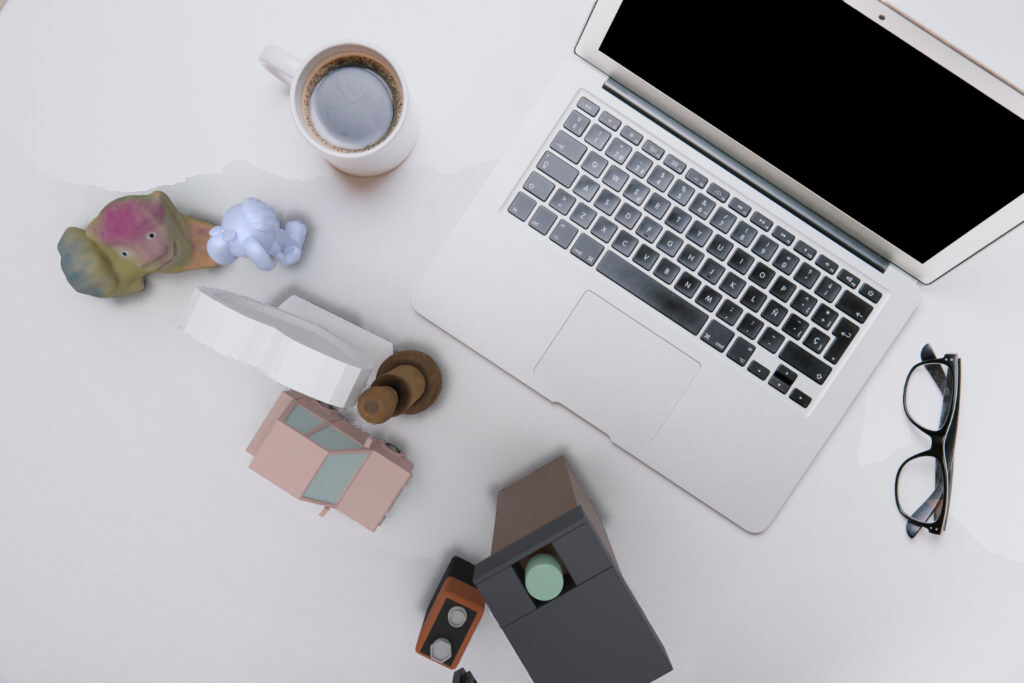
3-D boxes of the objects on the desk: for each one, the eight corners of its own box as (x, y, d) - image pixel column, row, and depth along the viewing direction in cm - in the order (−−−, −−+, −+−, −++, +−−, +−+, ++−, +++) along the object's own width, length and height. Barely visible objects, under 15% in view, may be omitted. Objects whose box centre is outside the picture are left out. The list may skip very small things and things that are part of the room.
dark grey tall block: (622, 545, 71) (674, 670, 47) (549, 587, 71) (562, 731, 47) (562, 444, 70) (584, 517, 46) (489, 486, 71) (472, 580, 47)
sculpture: (109, 316, 70) (40, 318, 60) (74, 241, 70) (-1, 231, 60) (235, 259, 70) (187, 252, 60) (200, 183, 69) (146, 163, 59)
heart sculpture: (409, 351, 69) (363, 363, 51) (388, 395, 70) (335, 421, 52) (276, 286, 70) (184, 275, 52) (256, 329, 70) (157, 333, 52)
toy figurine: (318, 215, 69) (276, 197, 57) (311, 277, 70) (267, 272, 58) (253, 206, 69) (197, 186, 57) (245, 267, 70) (188, 260, 58)
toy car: (379, 526, 71) (356, 563, 61) (258, 449, 71) (214, 473, 61) (427, 454, 71) (411, 479, 61) (304, 375, 70) (268, 387, 60)
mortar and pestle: (373, 403, 70) (321, 437, 52) (387, 343, 70) (340, 357, 52) (434, 418, 70) (404, 457, 52) (448, 358, 70) (423, 377, 52)
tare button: (568, 577, 48) (570, 589, 46) (536, 595, 48) (537, 608, 46) (550, 546, 47) (551, 557, 45) (518, 564, 48) (518, 575, 46)
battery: (426, 608, 72) (410, 658, 62) (453, 552, 71) (442, 594, 61) (463, 626, 72) (453, 679, 62) (490, 570, 71) (485, 614, 61)
